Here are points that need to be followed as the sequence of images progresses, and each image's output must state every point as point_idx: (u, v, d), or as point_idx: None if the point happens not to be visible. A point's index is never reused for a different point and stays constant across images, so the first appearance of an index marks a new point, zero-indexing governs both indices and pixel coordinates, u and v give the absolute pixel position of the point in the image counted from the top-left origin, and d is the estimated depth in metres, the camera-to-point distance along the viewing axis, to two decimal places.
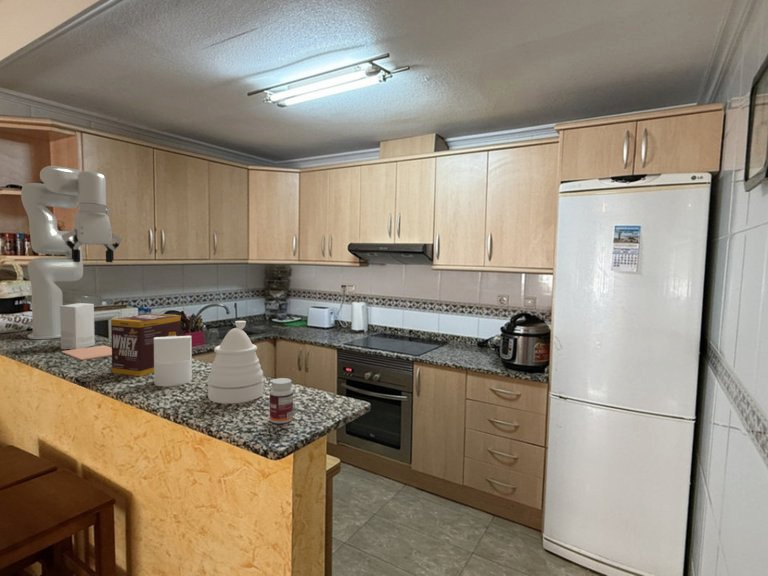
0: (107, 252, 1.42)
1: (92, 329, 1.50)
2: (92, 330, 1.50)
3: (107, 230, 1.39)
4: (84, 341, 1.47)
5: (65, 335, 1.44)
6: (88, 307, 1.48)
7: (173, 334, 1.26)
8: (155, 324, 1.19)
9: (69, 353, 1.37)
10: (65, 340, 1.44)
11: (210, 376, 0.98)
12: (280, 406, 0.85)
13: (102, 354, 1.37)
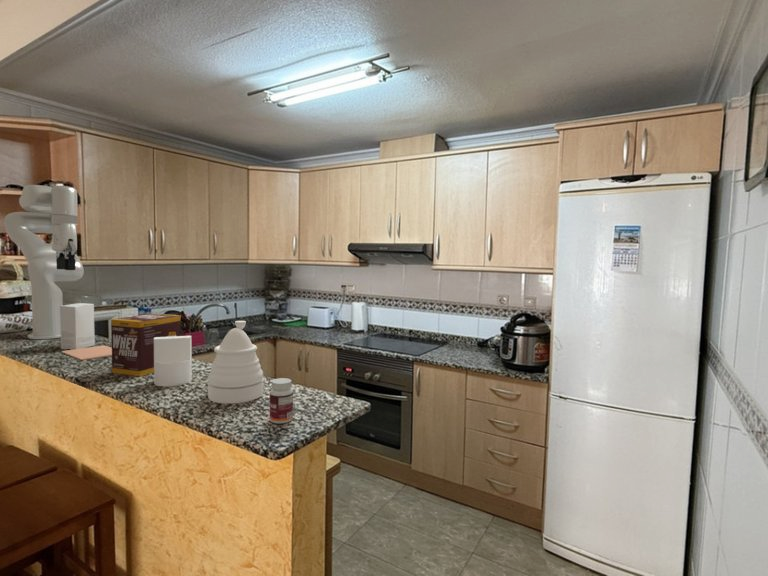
0: (61, 260, 1.53)
1: (92, 329, 1.50)
2: (92, 330, 1.50)
3: None
4: (84, 341, 1.47)
5: (65, 335, 1.44)
6: (88, 307, 1.48)
7: (173, 334, 1.26)
8: (155, 324, 1.19)
9: (69, 353, 1.37)
10: (65, 340, 1.44)
11: (210, 376, 0.98)
12: (280, 406, 0.85)
13: (102, 354, 1.37)
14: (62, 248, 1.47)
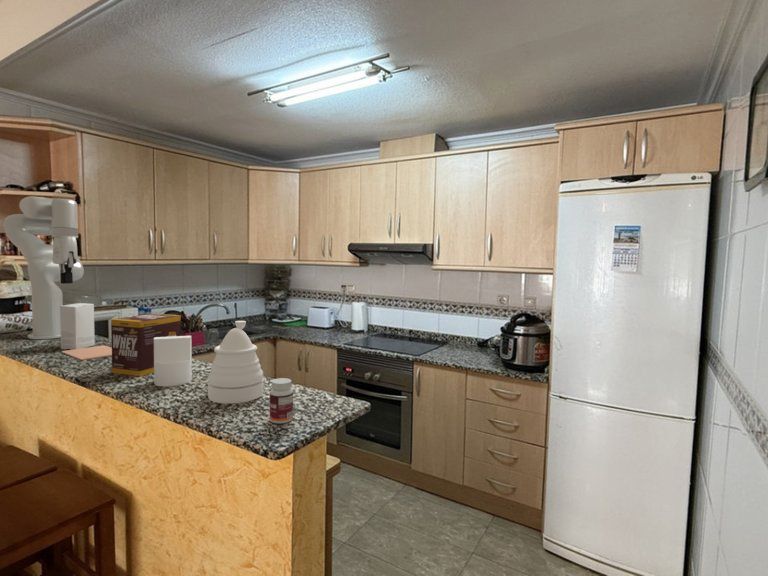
0: None
1: (92, 329, 1.50)
2: (92, 330, 1.50)
3: None
4: (84, 341, 1.47)
5: (65, 335, 1.44)
6: (88, 307, 1.48)
7: (173, 334, 1.26)
8: (155, 324, 1.19)
9: (69, 353, 1.37)
10: (65, 340, 1.44)
11: (210, 376, 0.98)
12: (280, 406, 0.85)
13: (102, 354, 1.37)
14: (63, 261, 1.47)
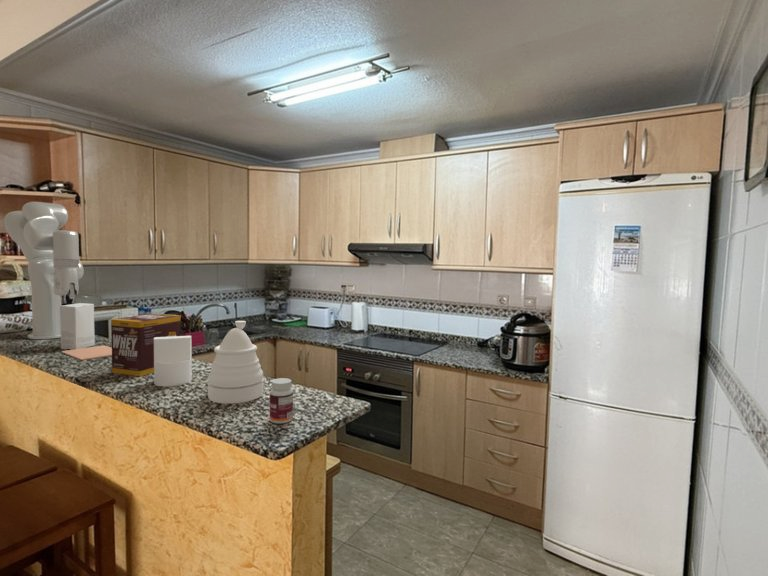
0: None
1: (92, 329, 1.50)
2: (92, 330, 1.50)
3: None
4: (84, 341, 1.47)
5: (65, 335, 1.44)
6: (88, 307, 1.48)
7: (173, 334, 1.26)
8: (155, 324, 1.19)
9: (69, 353, 1.37)
10: (65, 340, 1.44)
11: (210, 376, 0.98)
12: (280, 406, 0.85)
13: (102, 354, 1.37)
14: (64, 292, 1.47)
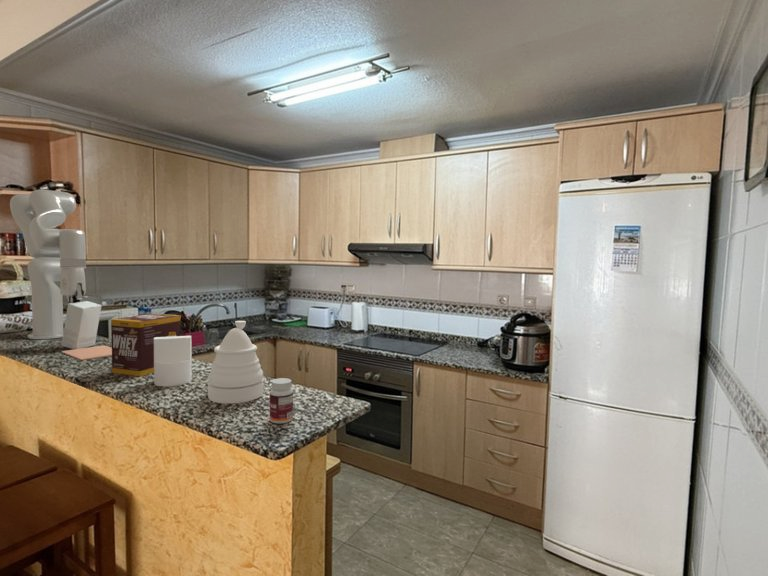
0: None
1: (95, 329, 1.50)
2: (95, 330, 1.50)
3: None
4: (85, 341, 1.47)
5: (68, 333, 1.44)
6: (96, 308, 1.47)
7: (173, 334, 1.26)
8: (155, 324, 1.19)
9: (69, 353, 1.37)
10: (66, 338, 1.44)
11: (210, 376, 0.98)
12: (280, 406, 0.85)
13: (102, 354, 1.37)
14: (71, 293, 1.44)
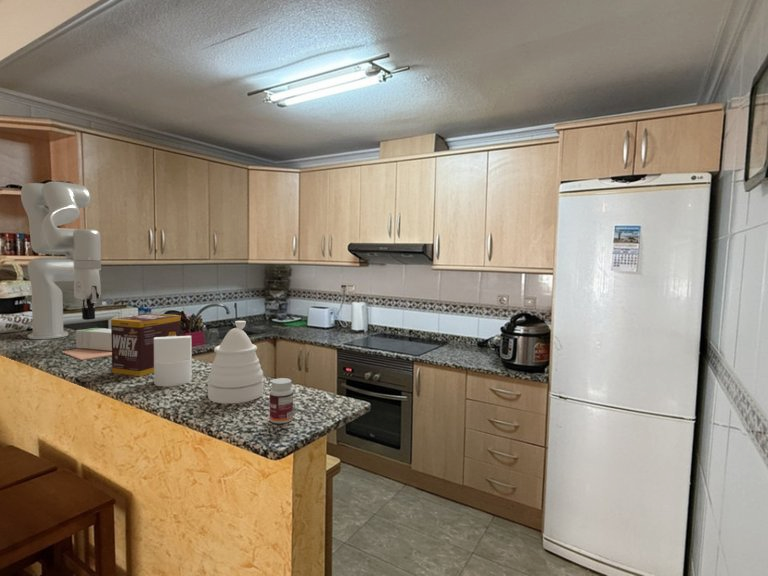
0: None
1: None
2: None
3: None
4: None
5: (87, 337, 1.43)
6: None
7: (173, 334, 1.26)
8: (155, 324, 1.19)
9: (69, 353, 1.37)
10: (83, 336, 1.43)
11: (210, 376, 0.98)
12: (280, 406, 0.85)
13: (102, 354, 1.37)
14: (85, 296, 1.37)
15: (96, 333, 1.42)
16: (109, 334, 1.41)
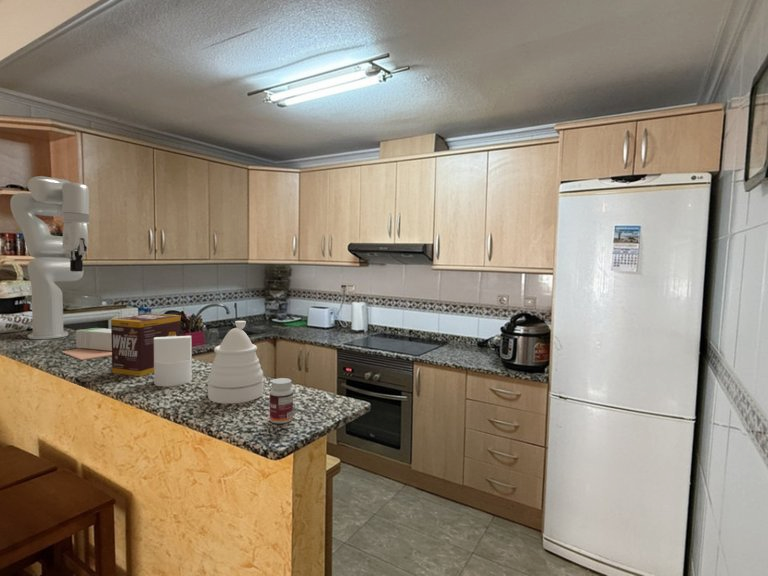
0: None
1: None
2: None
3: None
4: None
5: (87, 337, 1.43)
6: None
7: (173, 334, 1.26)
8: (155, 324, 1.19)
9: (69, 353, 1.37)
10: (83, 336, 1.43)
11: (210, 376, 0.98)
12: (280, 406, 0.85)
13: (102, 354, 1.37)
14: (73, 248, 1.41)
15: (96, 333, 1.42)
16: (109, 334, 1.41)
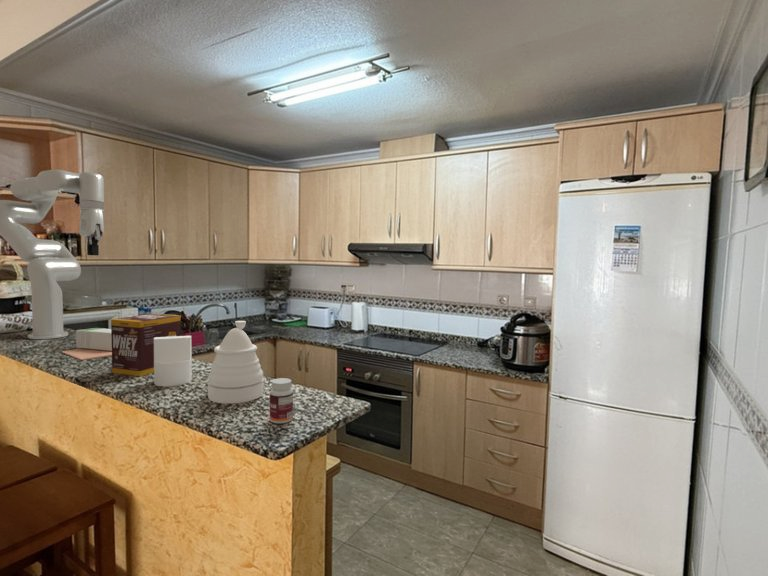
0: None
1: None
2: None
3: None
4: None
5: (87, 337, 1.43)
6: None
7: (173, 334, 1.26)
8: (155, 324, 1.19)
9: (69, 353, 1.37)
10: (83, 336, 1.43)
11: (210, 376, 0.98)
12: (280, 406, 0.85)
13: (102, 354, 1.37)
14: (90, 232, 1.52)
15: (96, 333, 1.42)
16: (109, 334, 1.41)
